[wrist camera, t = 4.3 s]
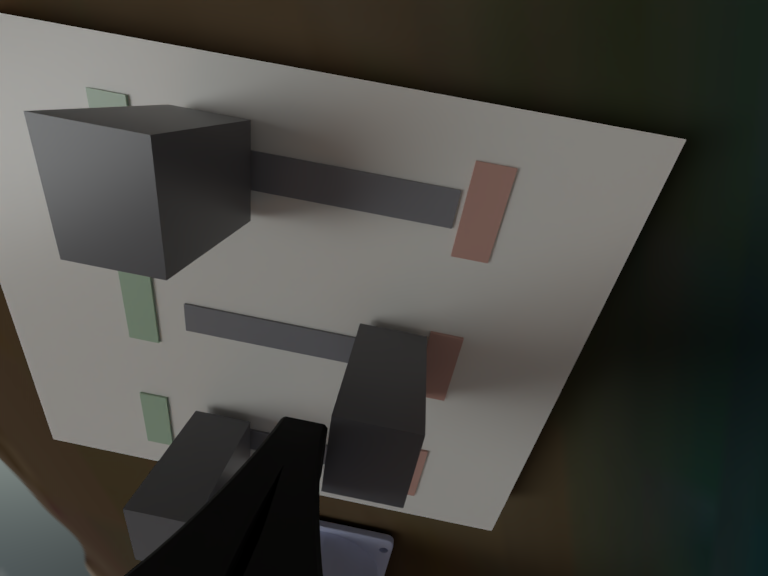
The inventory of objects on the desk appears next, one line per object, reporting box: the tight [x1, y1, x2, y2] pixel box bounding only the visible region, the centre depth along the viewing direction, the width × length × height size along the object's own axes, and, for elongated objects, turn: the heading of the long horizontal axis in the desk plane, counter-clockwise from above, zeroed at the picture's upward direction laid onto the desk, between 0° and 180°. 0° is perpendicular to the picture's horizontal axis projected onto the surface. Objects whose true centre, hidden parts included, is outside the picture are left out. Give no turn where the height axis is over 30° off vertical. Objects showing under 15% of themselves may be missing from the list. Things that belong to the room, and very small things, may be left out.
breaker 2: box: [123, 411, 250, 561], centre depth 15 cm, size 3×2×4 cm
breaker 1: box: [24, 104, 251, 280], centre depth 10 cm, size 3×2×4 cm
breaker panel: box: [0, 13, 686, 531], centre depth 16 cm, size 18×22×2 cm
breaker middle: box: [321, 323, 427, 508], centre depth 12 cm, size 3×2×4 cm
